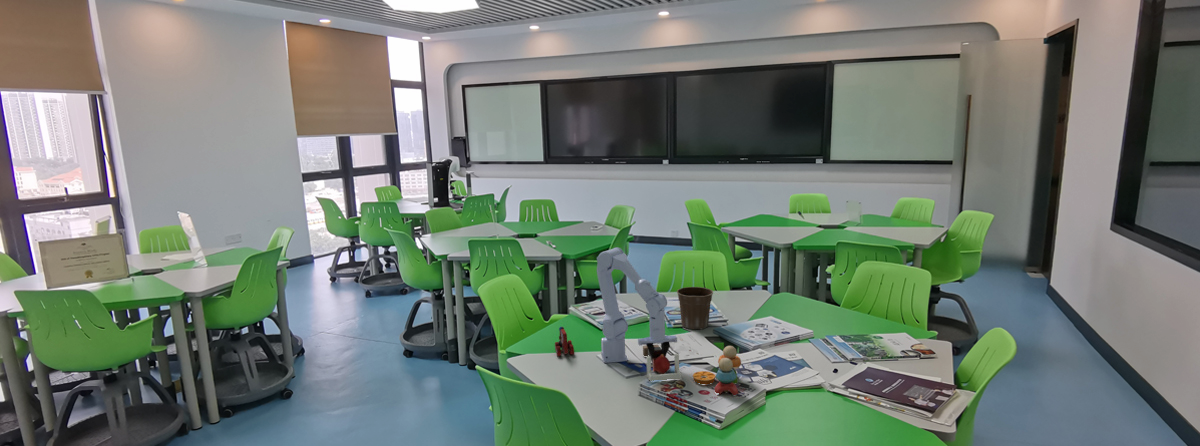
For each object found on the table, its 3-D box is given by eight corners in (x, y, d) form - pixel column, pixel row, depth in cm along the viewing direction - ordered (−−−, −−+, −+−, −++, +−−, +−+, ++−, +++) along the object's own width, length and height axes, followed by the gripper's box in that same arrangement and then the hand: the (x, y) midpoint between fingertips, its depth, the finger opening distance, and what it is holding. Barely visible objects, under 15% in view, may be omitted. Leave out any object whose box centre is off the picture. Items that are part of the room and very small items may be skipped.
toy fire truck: (570, 346, 249) (569, 323, 247) (575, 357, 237) (573, 332, 235) (554, 348, 248) (552, 324, 246) (557, 359, 236) (556, 334, 234)
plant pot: (718, 322, 271) (718, 288, 269) (705, 333, 258) (704, 298, 255) (686, 318, 280) (685, 285, 277) (671, 328, 266) (670, 293, 264)
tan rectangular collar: (644, 357, 233) (644, 348, 233) (643, 355, 236) (642, 345, 235) (659, 356, 234) (659, 346, 234) (658, 354, 237) (658, 344, 236)
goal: (649, 383, 210) (648, 361, 209) (646, 377, 215) (646, 356, 214) (682, 380, 211) (681, 358, 210) (678, 374, 216) (678, 353, 215)
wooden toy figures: (691, 375, 215) (691, 342, 213) (739, 374, 214) (739, 342, 212) (696, 397, 198) (695, 362, 196) (748, 397, 196) (748, 361, 194)
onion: (652, 372, 219) (652, 351, 218) (667, 370, 220) (667, 350, 219) (656, 378, 214) (656, 357, 212) (672, 376, 214) (671, 356, 213)
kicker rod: (653, 371, 219) (653, 354, 218) (643, 353, 238) (643, 336, 237) (666, 370, 220) (666, 353, 219) (655, 352, 239) (654, 335, 238)
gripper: (640, 332, 215) (641, 367, 218) (678, 328, 217) (679, 363, 219) (636, 325, 222) (637, 360, 224) (674, 322, 224) (674, 356, 226)
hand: (658, 361), depth 222 cm, fingers closed on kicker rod, 3 cm apart
